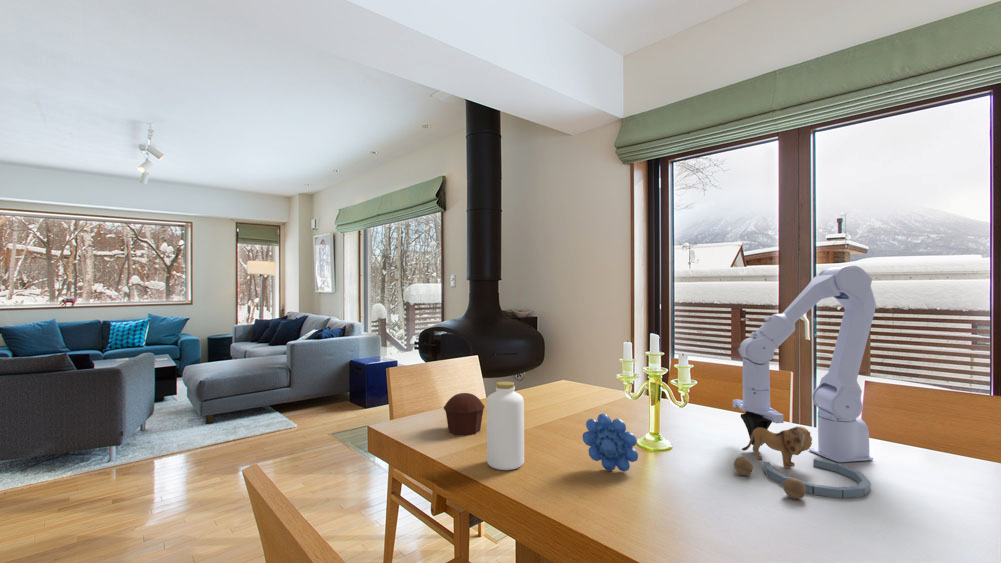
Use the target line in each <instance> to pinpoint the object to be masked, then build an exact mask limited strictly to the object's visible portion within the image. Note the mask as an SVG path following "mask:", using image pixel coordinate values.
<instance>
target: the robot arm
mask: <svg viewBox="0 0 1001 563" xmlns="http://www.w3.org/2000/svg"><path fill="white" fill-rule="evenodd" d="M872 282H873V278H872V277H871V276H870V275H869V274H868V272H867V271H866V270H865V269H863V268H862V267H860V266H857V265H851V264H850V265H846V266H839V267H832V266H831V267H826V268H824V269H822V270H821V271H820V272H819V274H818V275H816V276H814V277H813V278H812V279H811V280H810V281H809V283H808V284H807V286H805V288H804V289H803V290H802V291H801V292H800V293H799V294H798V295H797V296H796V297H795V298H794V299H793V301H791V303H790V304H789V305H788V306H787V307H786V308H785V310H784V311H783V312H782V313H773V314H772V315H771V316H770V315H768V316H766V317H765V318H764V319H763V320H764V323H763V324H762V325H761V326H760V327H759V328H758V329H757V330H756V331H752V332H751V333H750V336H751V337H747V338H745V339H744V340H742V341H741V342H740V345H739V347H738V348H737V351H738V353H739V356H740V357H741V358H742V369H741V370H742V399H739V398H738V399H737V398H736V399H732V408H734V409H739V410H741V411H743V412H745V413H741V414H740V418H741V420H742V422H743V423H744V425H745V427H746V430H747V433H748V437H749V440H750V439H751V435H752V432H753V430H754V429H756V428H758V427H760V428H765V429H767V430H768V429H769V427H770V426H771V424H772V423H774V424H784V414H783V413H781V412H779V411H777V410H776V409H774V408H772V407H771V382H770V380H771V378H770V377H771V374H770V372H771V370H770V361H772V360H773V359H774V356H775V350H776V349H778V348H779V347H780V346H781V345H782V343H784V342H785V341H786V340H787V339H788V338H789V337H790V336H791V335H792V334H793V333H794V332H795V331H796V323H797V321H799V320H800V319H801V318H802V317H803V316H804V315H806V313H808V312H809V311H810V310H811V309H812V308H814V306H816V305H817V304H818V303H819V302H820V301H822V300H823V299H828V298H832V297H833V299H834V298H835V299H836V301H838V303H839V304H840V305H841V306H842V308H844V311H843V315H842V319H841V323H840V327H839V331H838V335H837V338H836V342H835V345H834V350H833V353H832V358H831V362H830V365H829V369H828V372H827V373H826V374H825V375H823V377H821V379H820V382H819V384H818V386H816V388H815V389H814V390H813V391H812V392H813V393H812V396H811V398H812V402H813V403H814V404H813V405H815V406H816V408H817V409H818V410H817V436H818V437H817V447H812V448H811V447H810V448H809V449H808V451H809V452H811V453H814V454H817V455H819V456H822V457H823V458H826V459H828V460H831V461H832V462H833V461H834V462H835V463H848V462H849V463H850V462H863V461H864V462H865V461H873V460H874V457H872V456H870V431H869V428H868V426H867V424H866V422H865V421H864V420H863V419H861V418H860V417H859V416H861V414H862V412H863V402H862V393H863V390H862V388H861V386H860V385H859V382H858V376H859V373H860V369H861V365H862V361H863V358H864V355H865V354H864V353H865V351H866V346H867V342H868V339H869V335H870V331H871V327H872V325H873V324H872V323H873V320H874V317H875V312H876V308H877V303H876V299H875V296H874V293H873V289H872V286H871V285H872ZM768 431H769V430H768ZM754 442H755V440H754V439H753V441H752V443H751V445H752V446H753V445H754ZM761 446H763V445H760V447H761Z"/></svg>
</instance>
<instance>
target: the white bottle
mask: <svg viewBox="0 0 1001 563" xmlns="http://www.w3.org/2000/svg"><path fill="white" fill-rule="evenodd" d="M495 385H496V386H495V391H494V392H492V393H491V394H489V395H488V396H487V399H486V463H487V464H488V465H489V467H491V468H493V469H495V470H500V471H512V470H513V471H514V470H515V469H518V468H521V467H522V465H523V464H524V462H525V401H524V397H523V396H522V394H520V393H518V392H517V391H515V389H516V386H515V382H514V381H498V382H496V384H495Z"/></svg>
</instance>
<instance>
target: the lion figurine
mask: <svg viewBox="0 0 1001 563" xmlns="http://www.w3.org/2000/svg"><path fill="white" fill-rule="evenodd" d="M753 439H754V440H755V442H754V445H752V444H751V443H752V441H753ZM812 441H813V437H812V436H811V431H809V430H808V429H807V428H806V427H805V426H795V427H791V428H789V429H783V430H780V431H779V432H772V431H770V430H767V429H765V428H760V427H758V428H756V429H754V430H753V432H752V435H751V439H750V438H749V442H748V444H747V445H746V446H744V447H742V448H741V450H742V451H747V450H749V448H750V447H751V445H752V452H753V453H755V457H756V459H758V460H762V459H763V456H762V455H760V447H761V446H760V445H762V446H763V445H764V444H766V446H767V447H768V448H770V449H772V450H774V451H777V452H780V453H781V456H782V462H783V463H782V466H783V467H784V469H787V470H790V469H791V468H792V466H795V462H793V461H792V458H793V455H795V456H799V455H800V454H801V453H802V452H804V451H809V448H811V446H812V444H813V442H812Z"/></svg>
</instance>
